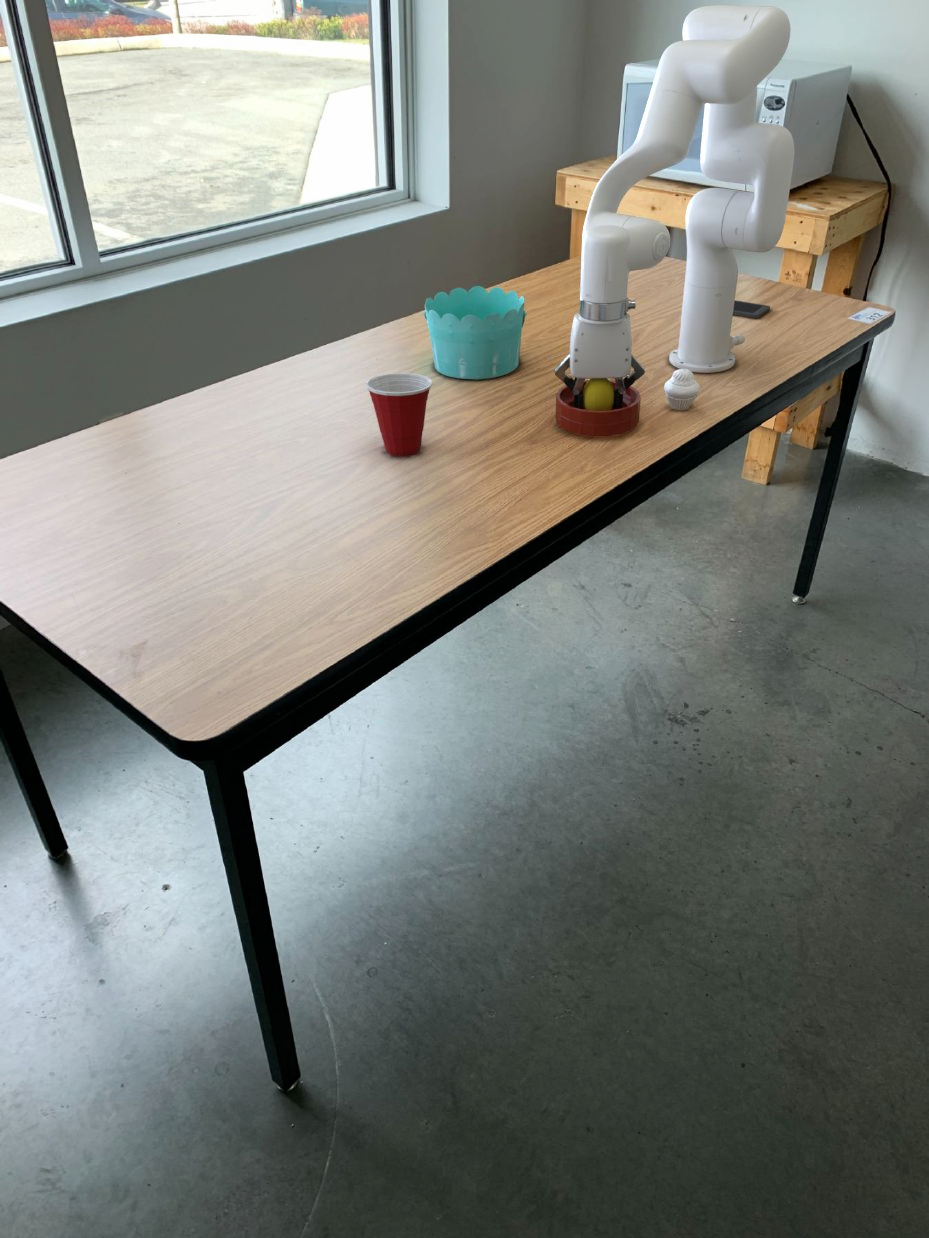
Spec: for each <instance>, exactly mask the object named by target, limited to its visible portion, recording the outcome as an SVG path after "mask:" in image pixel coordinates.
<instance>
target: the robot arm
mask: <svg viewBox="0 0 929 1238" xmlns="http://www.w3.org/2000/svg"><path fill="white" fill-rule="evenodd" d="M681 32H682V40H679V41H675V42H673V43H671V44H670V45H669V46H667V47H666V48H665V49H664V51H663V53H662V54H661V57H660V60H659V62H658V65H657V68H656V72H655V75H654V78H653V82H652V84H651V89H650V91H649V95H648V98H647V100H646V101H647V102H646V105H645V108H644V111H643V115H642V118H641V121H640V125H639V128H638V131H637V135H636V138H635V140H634V142H633V143H632V145H630V146H629V148H628V149H626V150H625V151H624V152H623V153H621V155H620V156H618V158H617V159H616V160H615V161H614V162H612V164H611V165H610V166H609V167H608V169H607V170H606V171H605V173H604V174H603V175H602V176H601V178H600V179H599V180H598V182H597V184H596V186H595V188H594V190H593V193H592V196H591V198H590V202H589V204H588V209H587V212H586V215H585V219H584V223H583V229H582V235H581V237H582V238H581V258H580V283H579V285H580V286H579V308H578V311H579V312H577V313H574V316H573V320H572V324H571V330H570V339H569V354H568V355H567V356H566V357H565V358H564V359H563V360H562V361H561V362H560V363H559V364H558V365H557V366H556V367H555V369H554V375H555V377H557V379H559V380H560V381H561V382H563V384H564V386H565V385H566V386H567V387H568V388H569V389H571V390H572V391H573V393H574V400H573V407H575V408H579V409H582V405H583V393H582V390H581V388H582V386H583V383H584V381H585V380H590V379H597V378H607V379H614V381H615V382H616V388H615V389H614V394H615V399H614V404H613V410H616V409H621V408H622V406H623V394H624V393H625V391H626V390H627V389H628V388H629V387H630V386H631V387H632V386H633V384H634V383H635V382H636V381H638V380H639V379H640V378H641V377H643V376H644V375H645V373H646V370H645V367H644V366H643V365H642V364H641V363H640V362H639V361H638V359H637V358H636V357H635V356H634V354H633V353H632V347H633V346H632V341H633V340H632V327H631V326H632V323H631V316H630V313H628V312H629V311H631V310H635V309H636V305H637V304H636V303H637V301H636V300H633V299H629V297H628V288H629V287H628V286H629V284H628V283H629V274H630V272H633V271H642V270H649V269H652V268H654V267H656V266H657V265H659V264H661V262H662V261H663V260H664V259H665V258H666V257H667V254H668V252H669V250H670V246H671V235H670V232H669V229H668V227H667V226H666V225H665V224H664V223H663V222H661V221H659V220H657V219H653V218H650V217H649V218H648V217H641V216H636V215H630V214H624V213H618V209H619V207H620V204H621V202H622V201H623V199H624V197H625V196H626V194H627V193H628V192H629V191H630V189H632V188H633V187H634V186H635V185H636V184H637V183H639V182H641V181H642V180H644V179H645V178H647V177H649V176H651V175H654V174H656V173H658V172H661V171H663V170H665V169H669V168H671V167H674V166H676V165H678V164H680V163H681V162H683V161H685V159H686V158H687V157H688V154H689V151H690V147H691V145H692V141H693V138H694V135H695V131H696V129H697V125H698V122H699V118H700V116H701V113H702V110H703V107H704V110H703V119H702V120H703V121H702V132H701V140H700V141H701V142H700V156H699V166H700V170H701V172H702V174H703V176H705V177H706V178H708V179H709V180H714V181H718V182H724V183H733V184H741V185H749V186H753V191H745V190H739V189H731V188H724V187H707V188H704V189H701V190H699V191H697V192H696V193H695V194H694V195H693V196H692V197H691V198H690V200H689V201H688V204H687V207H686V210H685V218H684V219H685V220H684V223H685V237H686V264H685V265H686V267H685V275H684V285H683V286H684V287H683V294H682V295H683V296H682V307H681V318H680V325H679V326H680V327H679V338H678V347H677V348H675V349H673V350H671V352H670V353H669V356H668V362H669V363H670V364H671V365H672V366H674V367H675V368H677V369H688V370H690V371H691V372H692V373H701V374H703V373H704V374H710V373H711V374H712V373H720V372H723V371H727V370H729V369H731V368H732V367H734V365H736V356H735V355H734V353H733V352H732V349H734V347H736V346H739V345H742V344H744V343H745V339H746V338H745V336H744V334H743V333H739V334H736V335H733V336H732V335H731V332H732V331H731V330H732V324H733V316H734V314H733V309H734V301H735V300H736V293H737V285H738V279H739V278H738V277H739V266H738V261H737V258H736V256H735V253H734V250H737V251H745V252H750V253H766V252H767V253H768V252H770V251H771V250H773V249H774V248H775V247H776V246H777V245H778V244H779V241H780V240H781V237H782V234H783V231H784V228H785V223H786V219H787V218H786V217H787V211H788V210H787V209H788V204H789V197H790V190H791V184H792V177H793V169H794V162H795V141H794V137H793V135H792V133H791V132H790V130H789V129H788V128H786V127H785V126H783V125H779V124H775V123H765V122H763V123H762V122H757V120H756V110H757V109H756V108H757V98H758V86H759V85H760V83H761V82H762V81H763V80H764V79H765V78H766V77H767V76H769V74H770V73H772V71H773V70H775V68H776V67H777V66H778V65H779V64H780V61H781V60H782V59H783V57H784V55H785V54H786V52H787V49H788V46H789V43H790V38H791V23H790V19H789V16H788V14H787V13H786V12H785V11H784V10H783V9H781V8H780V7H776V6H769V5H737V4H736V5H735V4H716V5H715V4H714V5H705V6H699V7H697V8H695V9H692V10H691V11H690V12H689V13H688V14H687V15H686V17H685V18H684V20H683V25H682V31H681ZM568 369H569V371H570V375H569V374H567V372H566V371H567V370H568ZM631 369H633V370H632V372H631Z"/></svg>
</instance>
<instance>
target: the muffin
mask: <svg viewBox="0 0 929 1238" xmlns="http://www.w3.org/2000/svg"><path fill="white" fill-rule="evenodd" d="M663 390H664V394H665V397H666V400H667V401H668V404H669V406H670V408H671V409H673V410H676V411H686V410H688V409H689V408H691V405H693V402H694V401H695V400H696V398H697V397H698V394H699V392H700V385H699V384H698V382H697V381H696V379H695V377H694V372H691V371H690V370H688V369H679V368H677V369H676V370H675V371H674V372H672V376H671V377H670V379H668V380H667V381H666V382H665V383H664V387H663Z"/></svg>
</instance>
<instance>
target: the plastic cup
mask: <svg viewBox="0 0 929 1238" xmlns="http://www.w3.org/2000/svg"><path fill="white" fill-rule="evenodd" d="M433 383H434V381H433V380H432V378H430V377H429V376H425V375H423V374H418V373H412V372H391V373H384V374H379V375H375V376H373V377H371V378H368V379H367V380H366V381H365V383H364V385H365V387H366V389H367V391H368V392H369V396H370V399H371V401H372V402H371V403H372V404H373V409H374V412H375V416H376V421H377V424H378V428H379V432H380V434H381V437H382V438H381V439H382V441H383V445H384V448H385V451H386V453H387V454H388V455H390V456H393V457H396V458H397V457H400V458H404V457H411V456H414V455H417V454H418V453H419V452H420V450H421V447H422V440H423V432H424V429H425V428H424V427H425V419H426V410H427V402H428V398H429V395H430V394H429V393H430V389H431V388H432V386H433Z"/></svg>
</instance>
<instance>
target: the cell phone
mask: <svg viewBox="0 0 929 1238" xmlns="http://www.w3.org/2000/svg"><path fill="white" fill-rule="evenodd" d="M770 310H771V306H770V305H766V304H761V303H754V302H747V301H742V300H736V299H735V301H734V309H733V316H734V315H736V316H740V317H747V318H753V319H759V318H761V317H762V316H764V315H765V314H766V313H767V312H769V311H770Z"/></svg>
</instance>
